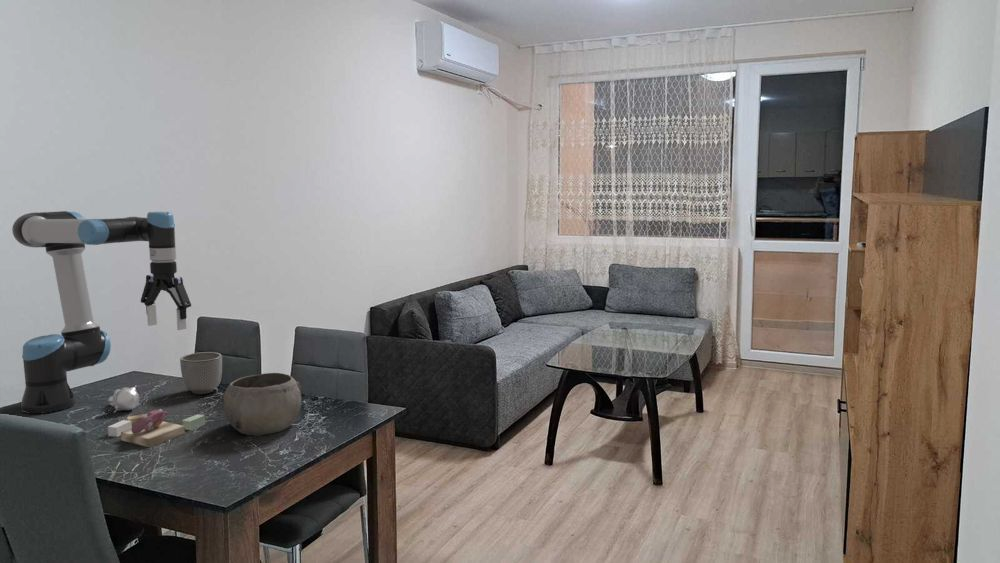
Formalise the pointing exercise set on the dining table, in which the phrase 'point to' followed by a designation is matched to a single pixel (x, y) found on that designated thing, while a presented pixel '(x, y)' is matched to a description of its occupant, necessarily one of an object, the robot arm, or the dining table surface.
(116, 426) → the brick white
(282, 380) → the bowl
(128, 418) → the brick beech
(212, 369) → the planter
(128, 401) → the figurine
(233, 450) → the dining table surface
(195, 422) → the brick sage
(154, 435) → the maple slab
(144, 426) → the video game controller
